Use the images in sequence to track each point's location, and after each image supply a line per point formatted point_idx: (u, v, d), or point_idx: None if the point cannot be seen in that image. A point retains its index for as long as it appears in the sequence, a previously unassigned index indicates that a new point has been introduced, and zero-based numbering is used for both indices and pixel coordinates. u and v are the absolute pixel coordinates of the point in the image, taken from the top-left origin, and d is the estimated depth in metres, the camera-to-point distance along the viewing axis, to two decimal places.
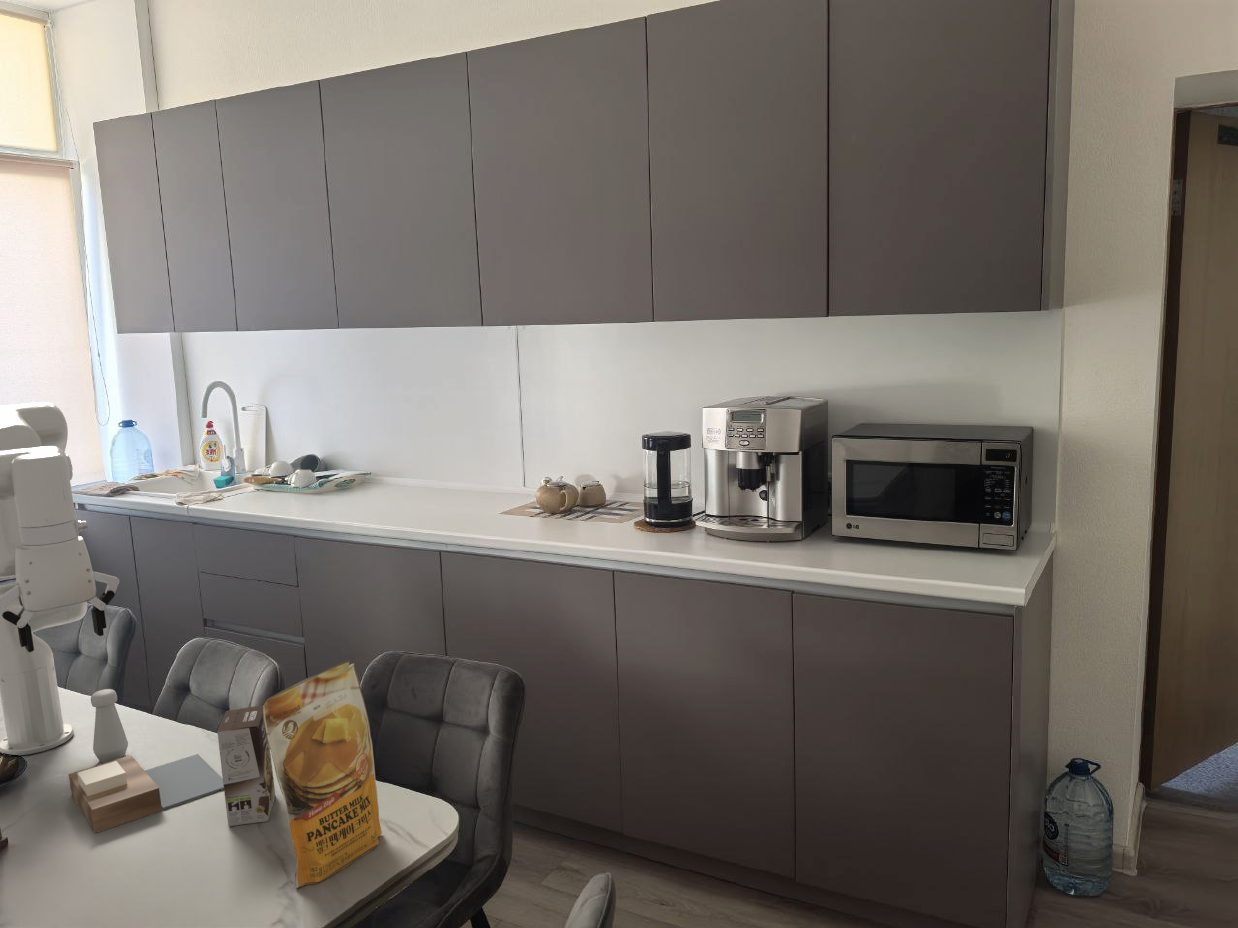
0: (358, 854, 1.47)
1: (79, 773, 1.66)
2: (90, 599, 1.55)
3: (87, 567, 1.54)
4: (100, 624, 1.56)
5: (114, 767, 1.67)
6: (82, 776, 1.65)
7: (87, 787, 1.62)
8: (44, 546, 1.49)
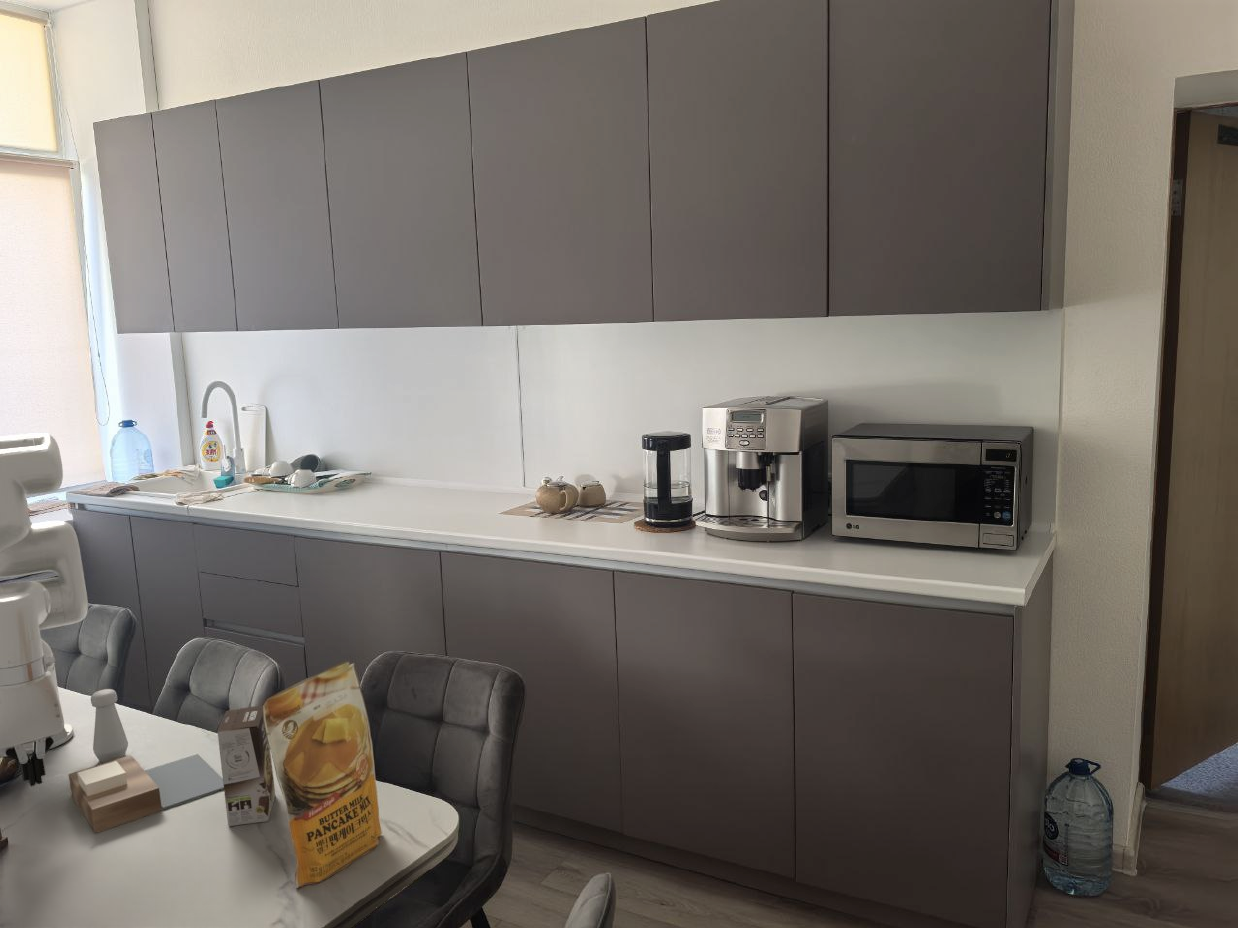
0: (358, 854, 1.47)
1: (79, 773, 1.66)
2: (58, 733, 1.59)
3: (55, 702, 1.58)
4: (38, 772, 1.58)
5: (114, 767, 1.67)
6: (82, 776, 1.65)
7: (87, 787, 1.62)
8: (12, 686, 1.53)
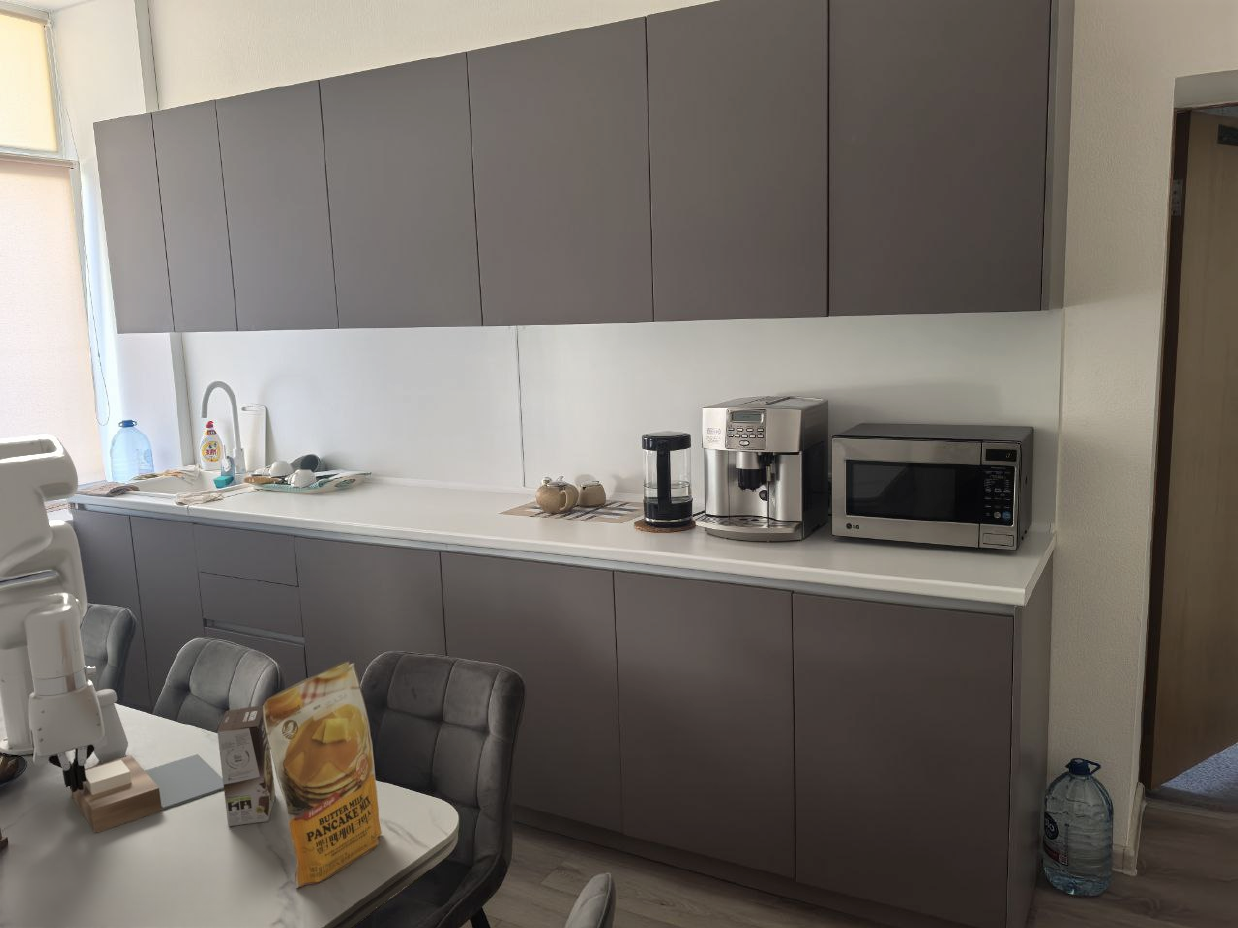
0: (358, 854, 1.47)
1: None
2: (99, 740, 1.64)
3: (96, 711, 1.62)
4: (80, 779, 1.62)
5: (118, 766, 1.68)
6: (87, 775, 1.65)
7: (92, 786, 1.62)
8: (56, 696, 1.57)
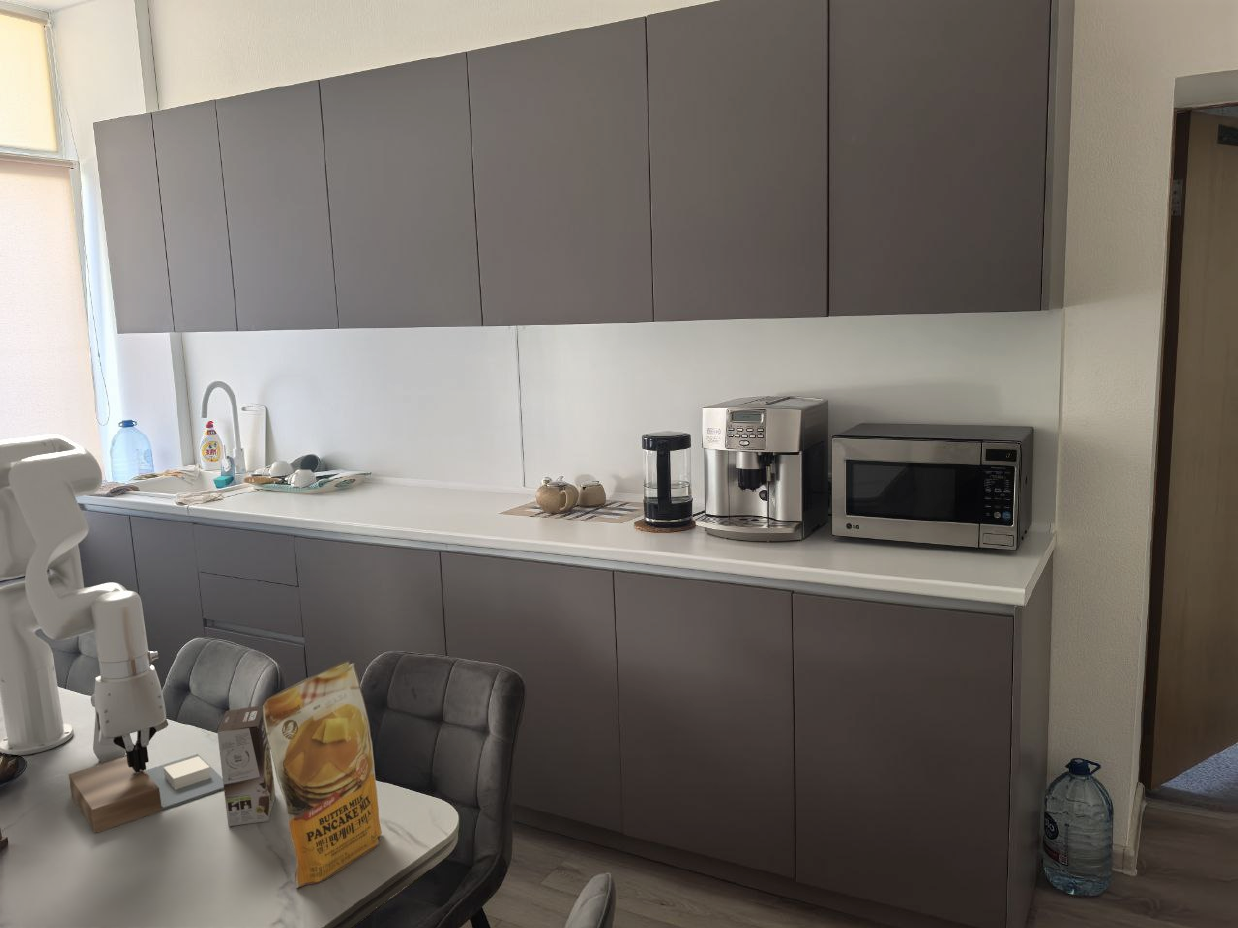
0: (358, 854, 1.47)
1: None
2: (161, 722, 1.70)
3: (158, 694, 1.69)
4: (143, 759, 1.68)
5: None
6: None
7: (209, 775, 1.74)
8: (121, 679, 1.63)
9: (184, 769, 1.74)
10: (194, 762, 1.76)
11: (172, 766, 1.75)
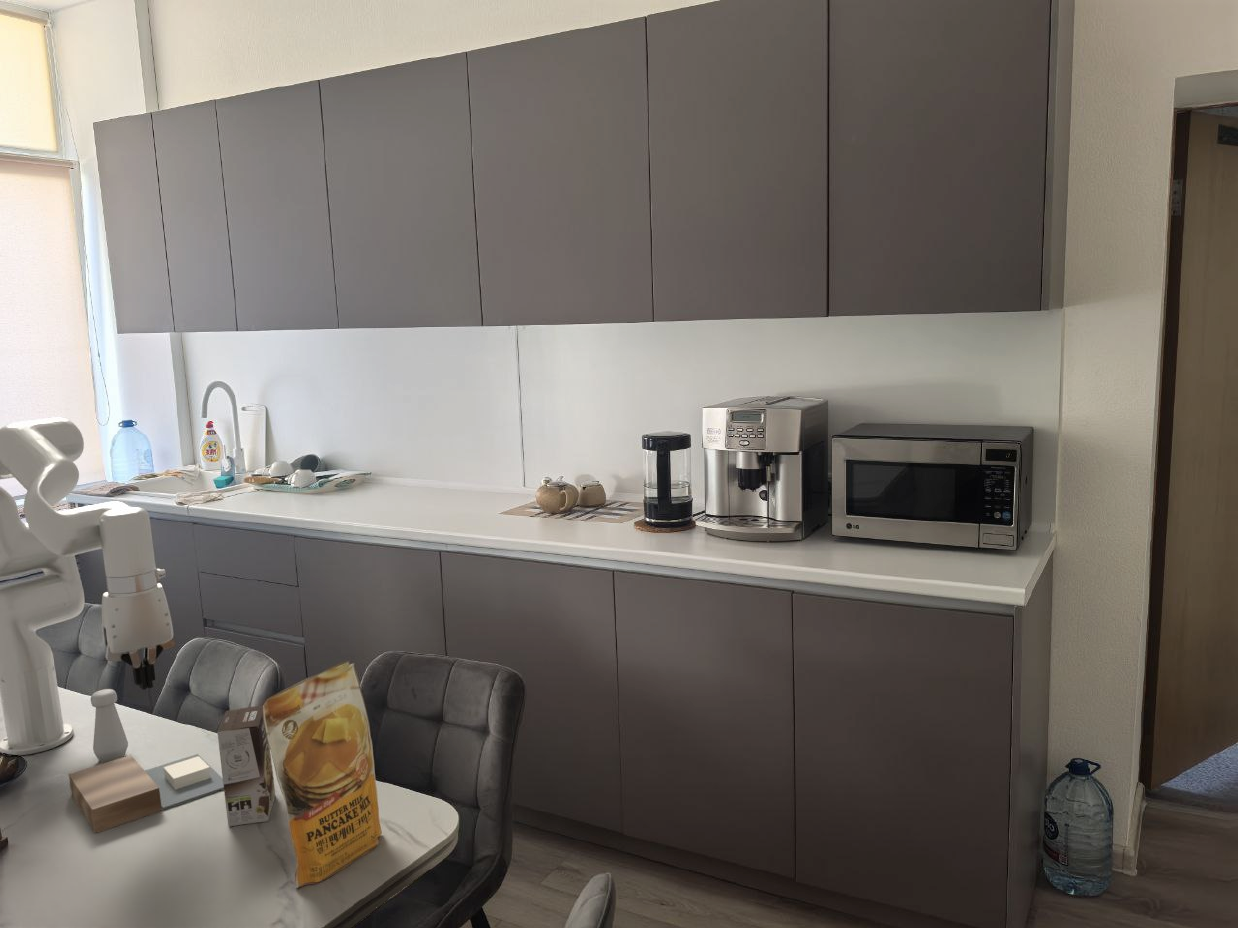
0: (358, 854, 1.47)
1: None
2: (168, 641, 1.69)
3: (166, 612, 1.68)
4: (150, 677, 1.68)
5: None
6: None
7: (209, 775, 1.74)
8: (129, 594, 1.63)
9: (184, 769, 1.74)
10: (194, 762, 1.76)
11: (172, 766, 1.75)
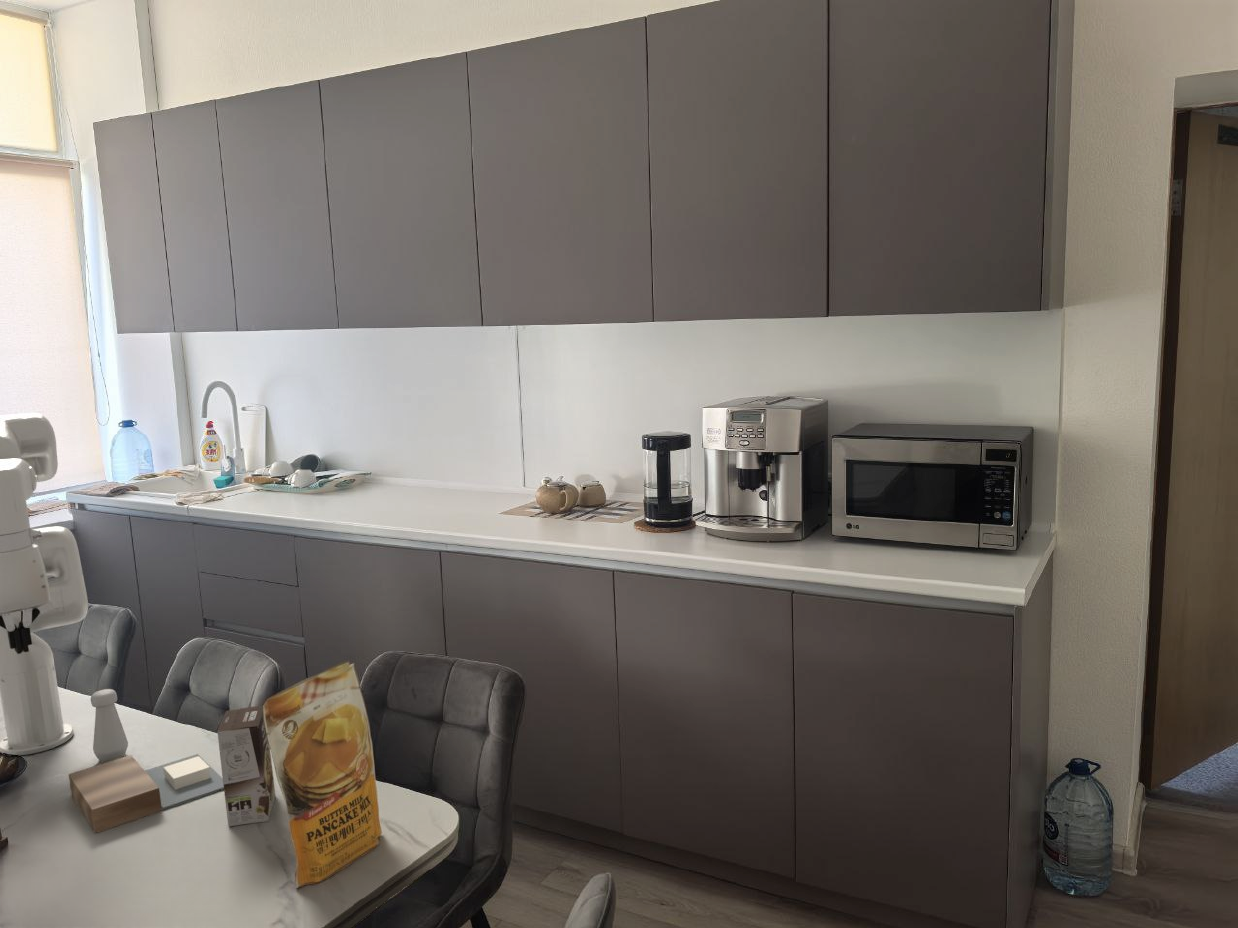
0: (358, 854, 1.47)
1: None
2: (44, 603, 1.64)
3: (41, 573, 1.63)
4: (25, 641, 1.63)
5: None
6: None
7: (209, 775, 1.74)
8: None
9: (184, 769, 1.74)
10: (194, 762, 1.76)
11: (172, 766, 1.75)
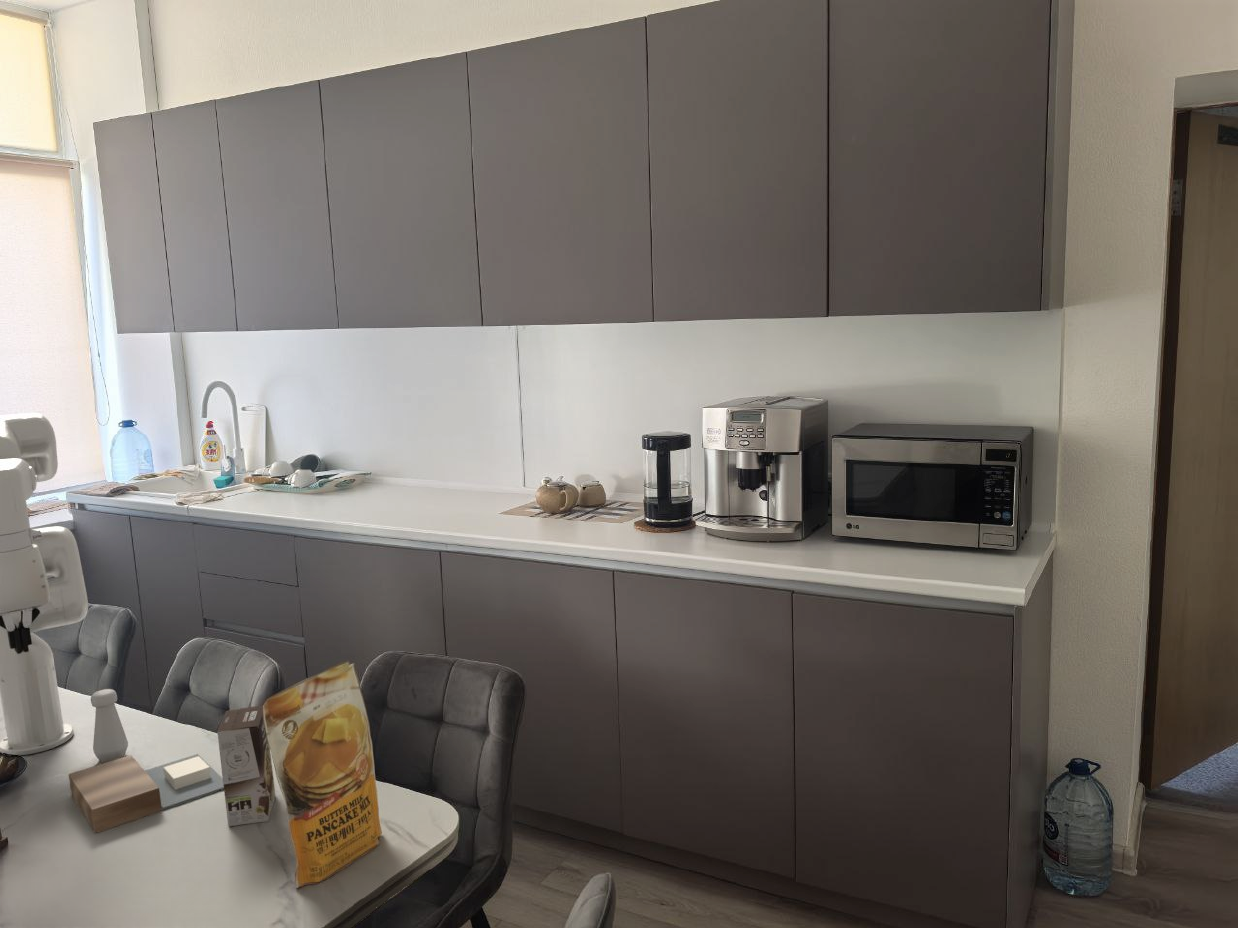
0: (358, 854, 1.47)
1: None
2: (44, 603, 1.64)
3: (41, 573, 1.63)
4: (25, 641, 1.63)
5: None
6: None
7: (209, 775, 1.74)
8: None
9: (184, 769, 1.74)
10: (194, 762, 1.76)
11: (172, 766, 1.75)
